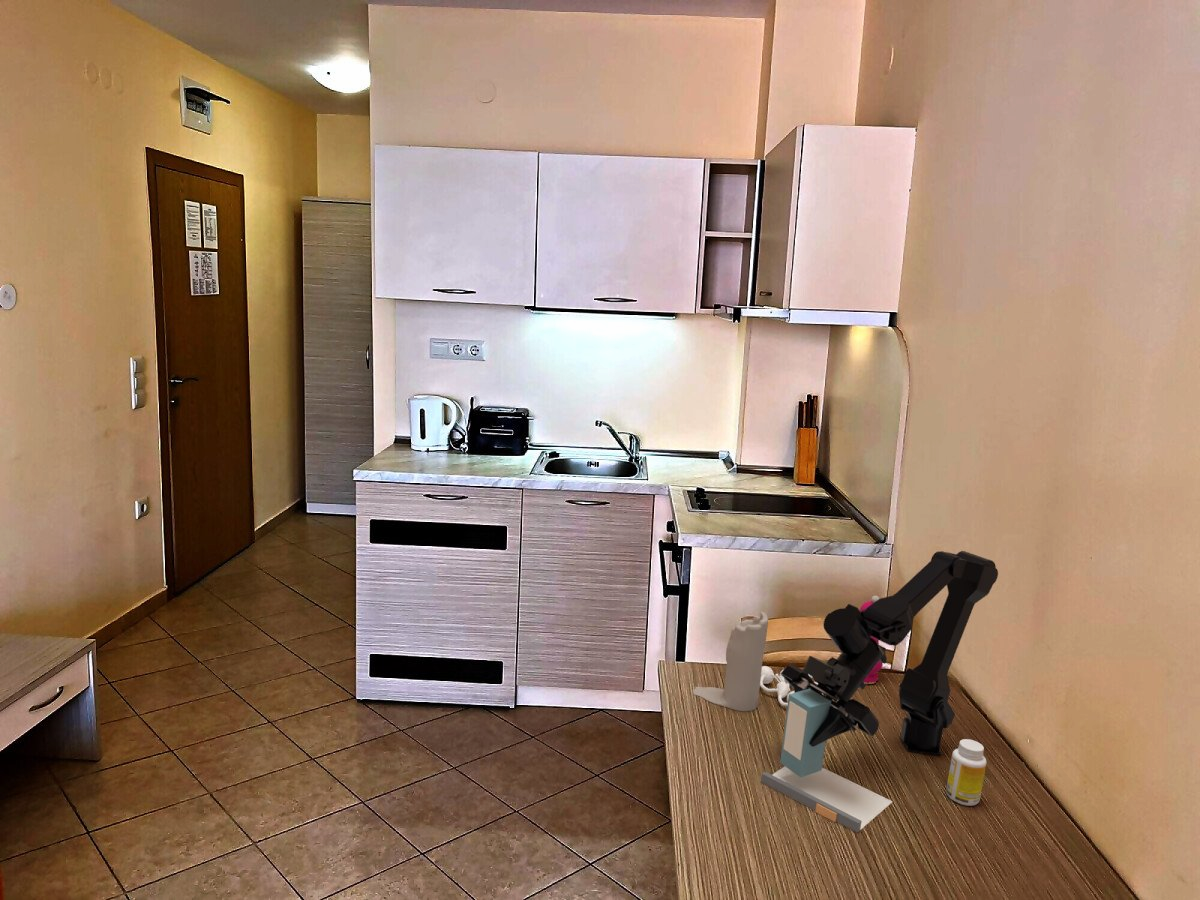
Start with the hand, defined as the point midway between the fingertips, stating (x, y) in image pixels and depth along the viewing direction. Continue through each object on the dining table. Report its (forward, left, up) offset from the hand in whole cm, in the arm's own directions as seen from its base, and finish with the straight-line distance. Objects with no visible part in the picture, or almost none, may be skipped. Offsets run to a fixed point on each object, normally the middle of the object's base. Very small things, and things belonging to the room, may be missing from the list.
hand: (799, 737), depth 149 cm
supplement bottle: (-30, -5, -10) cm, 32 cm away
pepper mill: (-21, -50, -10) cm, 55 cm away
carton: (-1, -1, -6) cm, 6 cm away
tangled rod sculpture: (-5, -36, -10) cm, 38 cm away
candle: (+11, -31, -10) cm, 34 cm away
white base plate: (-5, +1, -10) cm, 11 cm away
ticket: (-4, +9, -10) cm, 14 cm away
